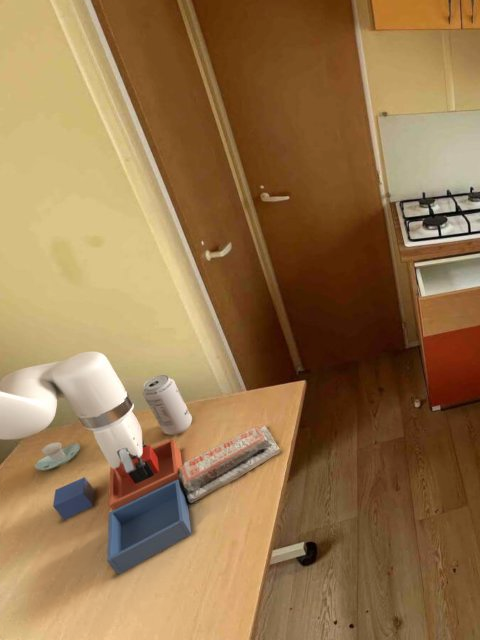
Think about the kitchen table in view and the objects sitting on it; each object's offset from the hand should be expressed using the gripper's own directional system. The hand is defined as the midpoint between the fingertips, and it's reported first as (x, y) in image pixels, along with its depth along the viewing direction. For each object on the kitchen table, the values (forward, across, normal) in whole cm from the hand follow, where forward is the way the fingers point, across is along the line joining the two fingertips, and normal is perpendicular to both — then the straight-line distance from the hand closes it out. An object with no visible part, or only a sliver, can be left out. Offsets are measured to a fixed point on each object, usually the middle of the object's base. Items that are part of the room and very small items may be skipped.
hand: (144, 469), depth 91 cm
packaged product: (+5, +6, +14) cm, 16 cm away
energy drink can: (+5, -14, +6) cm, 16 cm away
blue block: (+4, -4, -12) cm, 13 cm away
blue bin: (+4, +13, 0) cm, 14 cm away
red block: (+1, 0, 0) cm, 1 cm away
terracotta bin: (+4, 0, 0) cm, 4 cm away
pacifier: (+5, -20, -16) cm, 26 cm away
